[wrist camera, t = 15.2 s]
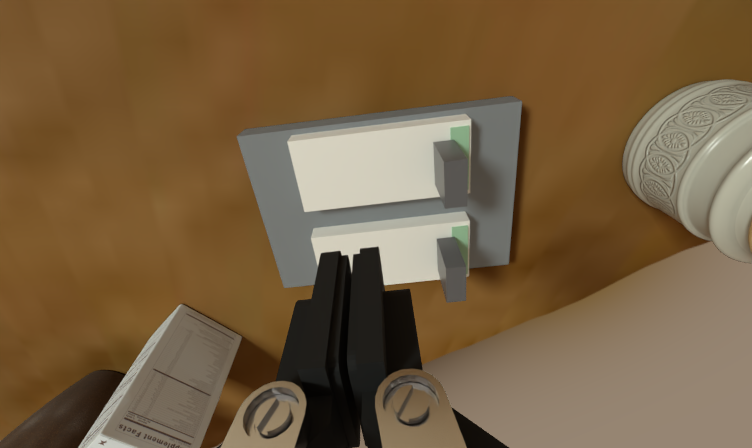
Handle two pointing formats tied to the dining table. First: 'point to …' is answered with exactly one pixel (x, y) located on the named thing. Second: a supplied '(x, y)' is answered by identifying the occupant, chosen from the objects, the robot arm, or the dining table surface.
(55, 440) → the plant pot
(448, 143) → the breaker handle
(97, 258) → the dining table surface
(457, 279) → the breaker handle
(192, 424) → the supplement box
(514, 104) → the breaker panel
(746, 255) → the jar
